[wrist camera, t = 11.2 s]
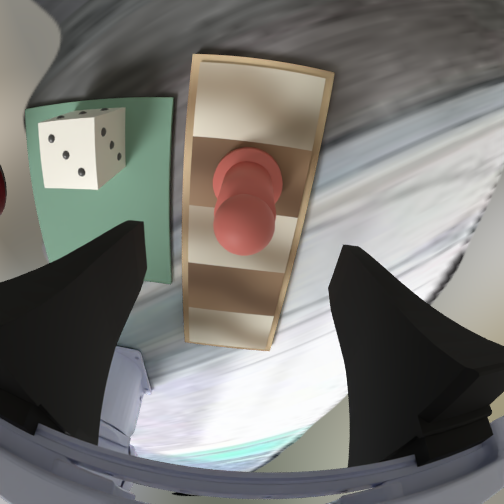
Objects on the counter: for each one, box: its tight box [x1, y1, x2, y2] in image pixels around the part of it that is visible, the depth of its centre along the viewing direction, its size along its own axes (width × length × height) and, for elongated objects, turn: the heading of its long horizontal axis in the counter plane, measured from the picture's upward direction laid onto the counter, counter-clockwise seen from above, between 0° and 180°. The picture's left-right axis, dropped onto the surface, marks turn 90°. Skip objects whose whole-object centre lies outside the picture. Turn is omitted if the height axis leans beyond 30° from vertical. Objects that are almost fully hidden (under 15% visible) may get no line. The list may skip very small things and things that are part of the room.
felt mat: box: [25, 97, 174, 284], centre depth 19 cm, size 14×12×1 cm
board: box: [182, 54, 335, 351], centre depth 20 cm, size 24×8×1 cm, turn 173°
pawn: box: [213, 147, 283, 256], centre depth 14 cm, size 4×4×7 cm
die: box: [38, 107, 126, 190], centre depth 14 cm, size 4×4×4 cm
